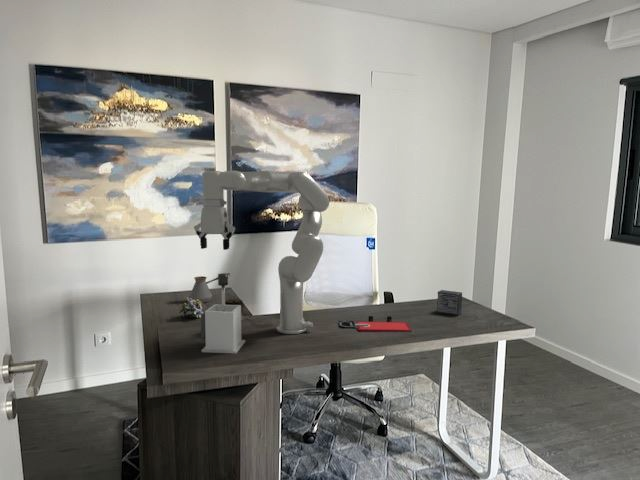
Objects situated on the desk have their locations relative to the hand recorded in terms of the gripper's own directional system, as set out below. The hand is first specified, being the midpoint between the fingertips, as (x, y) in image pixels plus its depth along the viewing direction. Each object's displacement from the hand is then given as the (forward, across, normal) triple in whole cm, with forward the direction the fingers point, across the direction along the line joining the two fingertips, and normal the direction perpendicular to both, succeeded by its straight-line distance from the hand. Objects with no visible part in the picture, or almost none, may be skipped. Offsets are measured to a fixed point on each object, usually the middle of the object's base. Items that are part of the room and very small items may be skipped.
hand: (214, 248), depth 179 cm
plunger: (+29, -5, +4) cm, 30 cm away
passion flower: (+37, +30, -26) cm, 54 cm away
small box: (+38, -83, -77) cm, 119 cm away
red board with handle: (+38, -53, -42) cm, 78 cm away
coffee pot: (+37, +38, -56) cm, 77 cm away
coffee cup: (+37, +1, -15) cm, 40 cm away
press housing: (+37, -5, +4) cm, 37 cm away
